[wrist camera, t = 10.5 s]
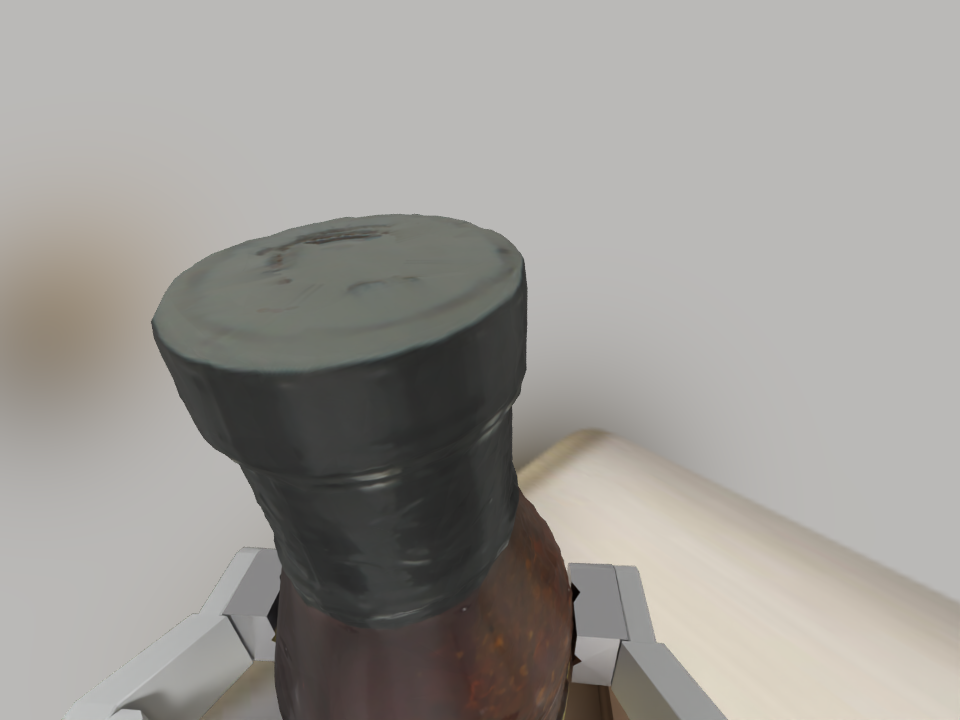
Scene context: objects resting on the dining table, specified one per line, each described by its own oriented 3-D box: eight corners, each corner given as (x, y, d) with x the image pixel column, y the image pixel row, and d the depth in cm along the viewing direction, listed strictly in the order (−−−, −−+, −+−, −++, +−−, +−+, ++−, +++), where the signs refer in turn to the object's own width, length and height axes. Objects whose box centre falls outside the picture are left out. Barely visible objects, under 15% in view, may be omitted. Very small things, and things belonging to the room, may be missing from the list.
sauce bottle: (412, 666, 19) (290, 183, 9) (558, 703, 18) (622, 186, 7) (339, 893, 14) (-201, 363, 3) (538, 968, 13) (661, 483, 2)
